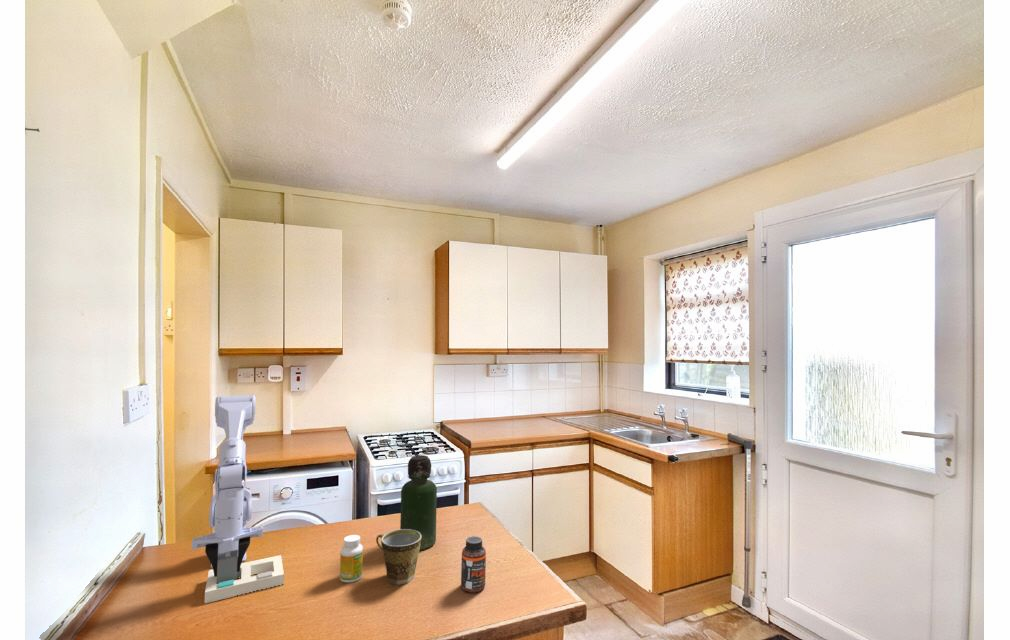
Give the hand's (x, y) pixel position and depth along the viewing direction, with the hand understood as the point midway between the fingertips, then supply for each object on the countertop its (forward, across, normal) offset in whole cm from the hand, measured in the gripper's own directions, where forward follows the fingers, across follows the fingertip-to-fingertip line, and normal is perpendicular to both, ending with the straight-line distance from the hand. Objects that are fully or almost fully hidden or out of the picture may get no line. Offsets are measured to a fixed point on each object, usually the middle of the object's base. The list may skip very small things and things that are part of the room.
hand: (227, 572), depth 106 cm
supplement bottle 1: (+4, +27, -10) cm, 29 cm away
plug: (+2, 0, 0) cm, 2 cm away
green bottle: (+4, +48, 0) cm, 48 cm away
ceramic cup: (+4, +37, -15) cm, 40 cm away
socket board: (+3, +4, 0) cm, 5 cm away
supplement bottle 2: (+4, +52, -29) cm, 60 cm away
